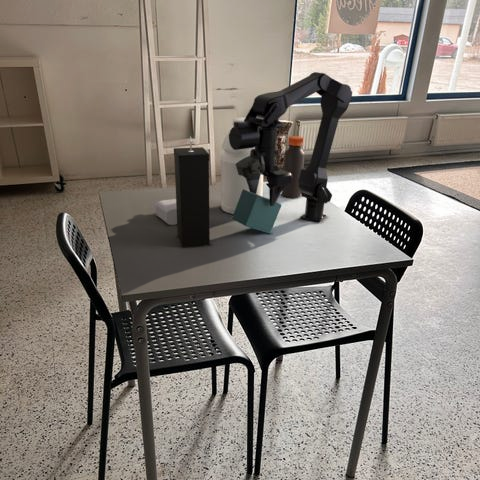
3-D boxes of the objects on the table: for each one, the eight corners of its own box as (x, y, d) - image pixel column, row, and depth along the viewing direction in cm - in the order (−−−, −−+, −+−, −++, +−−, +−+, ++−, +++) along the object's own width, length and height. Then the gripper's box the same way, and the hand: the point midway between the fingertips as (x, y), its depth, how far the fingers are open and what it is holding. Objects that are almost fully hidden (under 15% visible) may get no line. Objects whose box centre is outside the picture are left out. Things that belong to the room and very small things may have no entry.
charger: (174, 206, 165) (195, 220, 154) (148, 210, 161) (167, 225, 150) (174, 192, 162) (194, 205, 152) (147, 196, 158) (167, 210, 147)
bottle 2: (288, 199, 175) (293, 140, 164) (278, 194, 180) (282, 136, 169) (304, 197, 178) (310, 138, 167) (293, 191, 183) (298, 134, 172)
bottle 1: (212, 206, 166) (211, 117, 151) (244, 199, 173) (247, 113, 159) (237, 218, 157) (239, 125, 142) (270, 210, 164) (276, 120, 149)
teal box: (267, 198, 149) (242, 189, 142) (281, 204, 144) (257, 195, 137) (255, 226, 151) (231, 218, 145) (270, 233, 147) (245, 226, 140)
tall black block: (182, 247, 136) (177, 141, 121) (177, 236, 143) (172, 135, 128) (209, 245, 138) (209, 140, 123) (204, 234, 144) (202, 134, 130)
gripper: (221, 142, 138) (221, 197, 146) (262, 156, 125) (259, 216, 133) (254, 138, 144) (251, 191, 152) (295, 151, 131) (291, 209, 139)
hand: (262, 201), depth 144 cm, fingers open, 9 cm apart
